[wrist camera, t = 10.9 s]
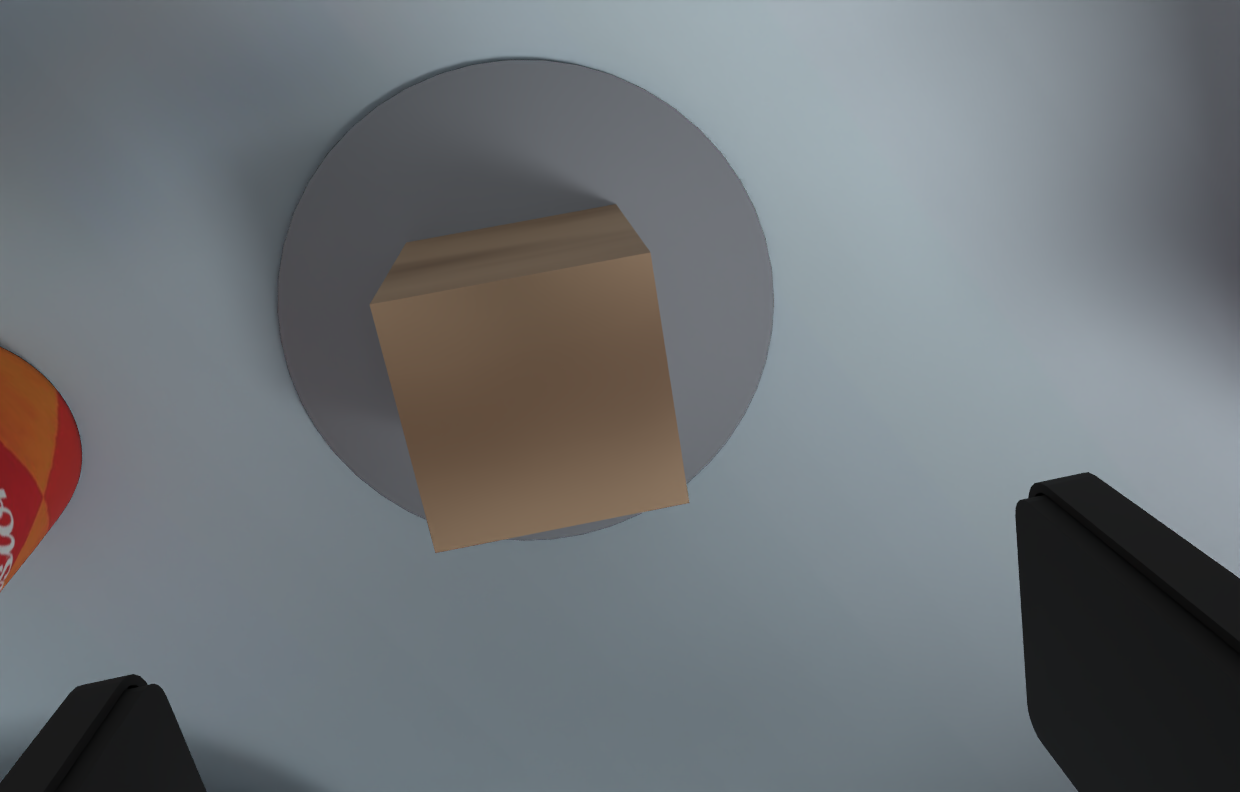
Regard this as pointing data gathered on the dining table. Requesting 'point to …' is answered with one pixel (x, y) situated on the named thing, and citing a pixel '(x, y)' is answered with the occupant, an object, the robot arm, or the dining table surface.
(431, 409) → the walnut block
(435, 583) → the dining table surface
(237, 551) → the dining table surface
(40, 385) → the paper cup
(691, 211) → the disc
